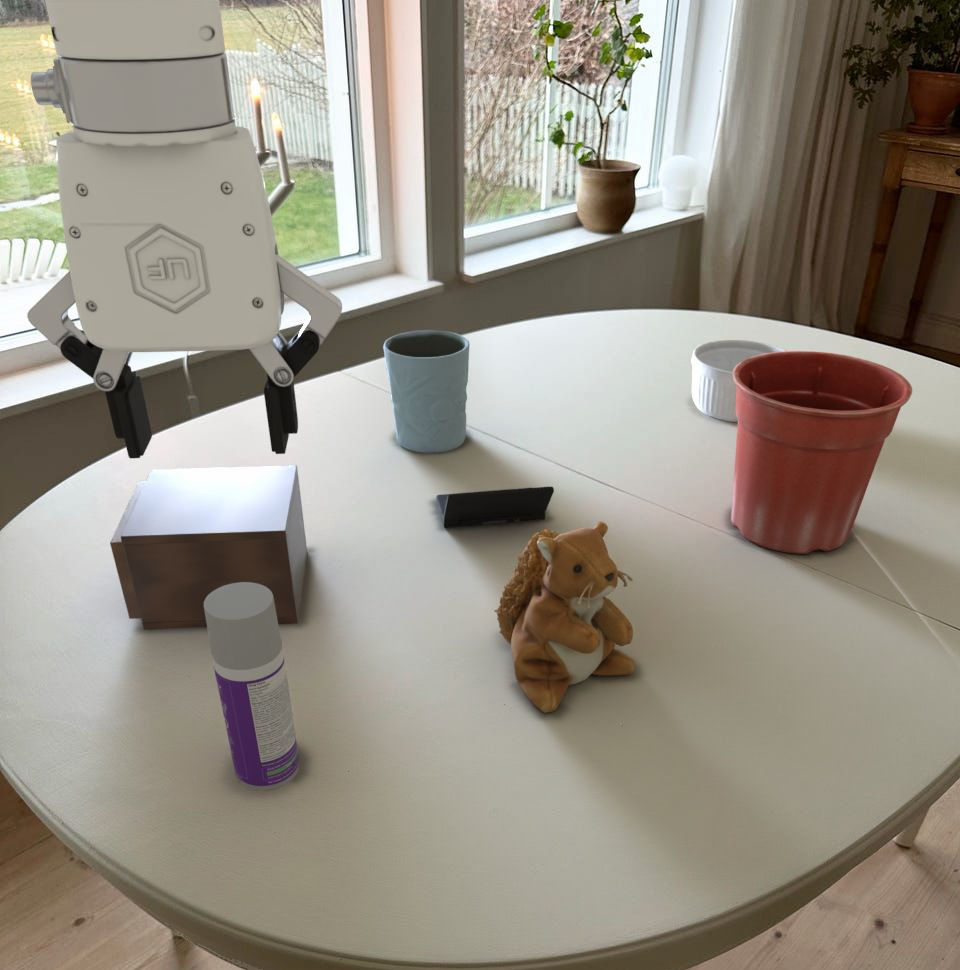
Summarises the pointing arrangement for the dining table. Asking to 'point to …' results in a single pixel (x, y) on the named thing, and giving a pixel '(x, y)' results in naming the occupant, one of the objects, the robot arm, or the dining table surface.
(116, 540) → the drawer
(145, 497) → the cabinet
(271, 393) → the robot arm
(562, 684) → the stuffed squirrel
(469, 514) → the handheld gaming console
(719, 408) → the ramekin
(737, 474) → the flower pot
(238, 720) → the container
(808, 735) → the dining table surface
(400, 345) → the light blue cup
